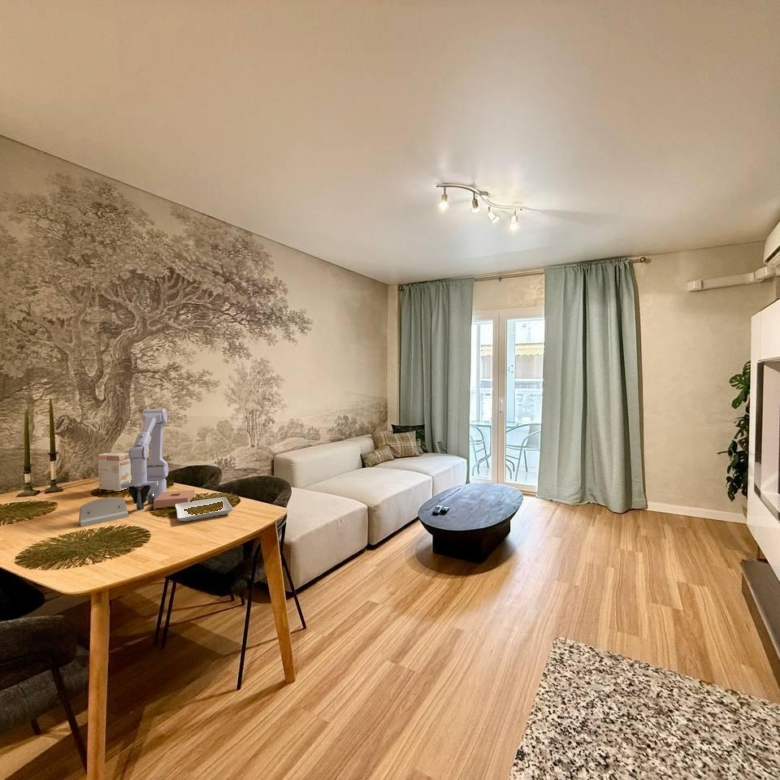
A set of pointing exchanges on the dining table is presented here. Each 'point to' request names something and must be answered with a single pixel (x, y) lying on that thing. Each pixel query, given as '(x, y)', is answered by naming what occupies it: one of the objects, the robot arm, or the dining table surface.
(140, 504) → the tall pin
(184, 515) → the salad plate
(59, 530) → the dining table surface
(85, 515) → the grey bracket
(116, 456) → the coffeecake box
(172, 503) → the hole block
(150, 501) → the short pin
